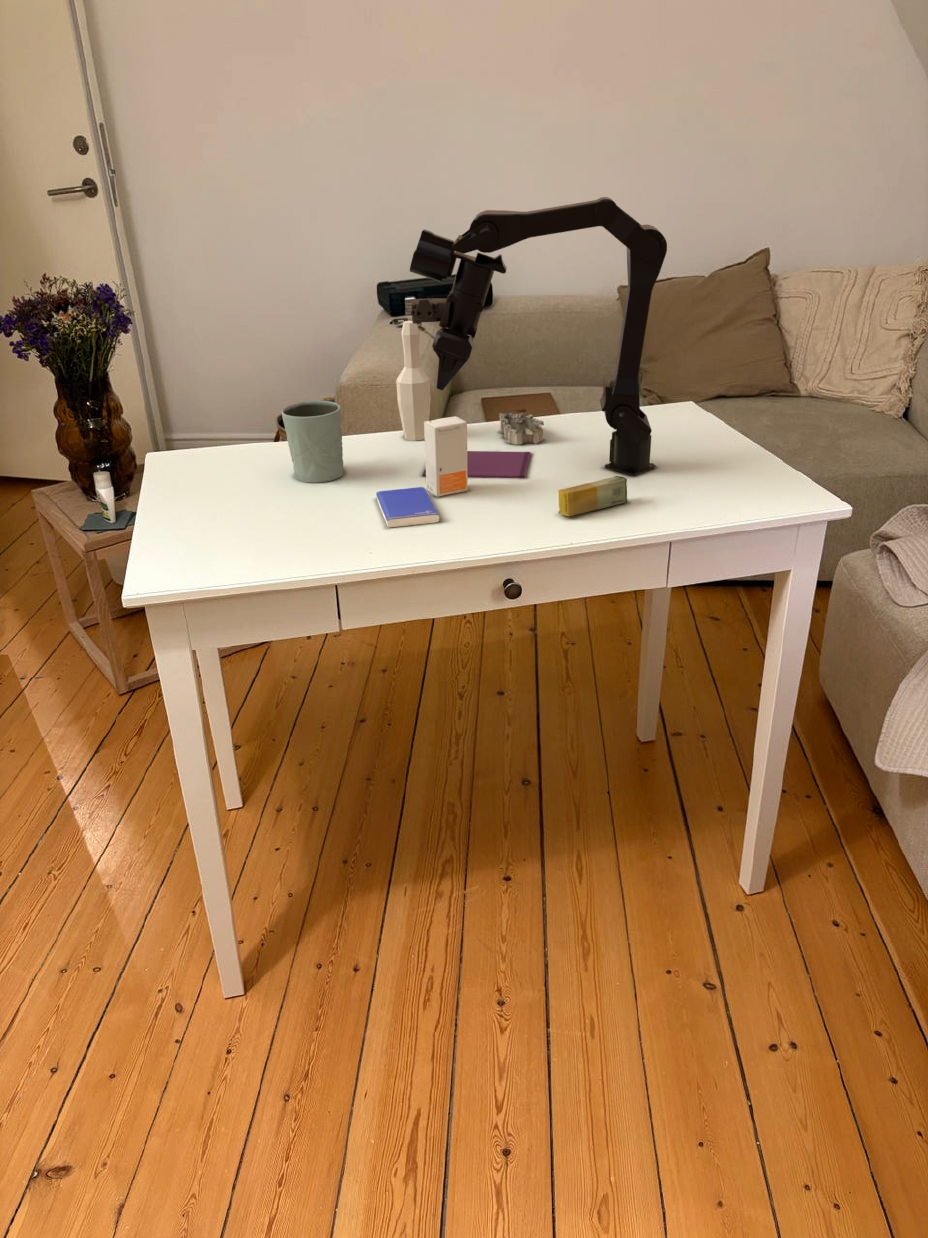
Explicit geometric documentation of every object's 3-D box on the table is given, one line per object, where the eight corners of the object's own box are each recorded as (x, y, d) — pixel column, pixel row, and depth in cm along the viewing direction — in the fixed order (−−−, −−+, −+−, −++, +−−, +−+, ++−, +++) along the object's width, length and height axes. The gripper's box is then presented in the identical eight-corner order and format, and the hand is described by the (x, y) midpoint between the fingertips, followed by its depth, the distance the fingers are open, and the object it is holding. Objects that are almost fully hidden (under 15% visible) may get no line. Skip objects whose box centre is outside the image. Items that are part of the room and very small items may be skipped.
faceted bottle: (431, 441, 188) (426, 324, 177) (398, 442, 188) (391, 325, 177) (432, 431, 193) (427, 317, 183) (401, 432, 193) (394, 318, 183)
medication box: (617, 499, 158) (617, 475, 156) (628, 502, 156) (628, 478, 154) (557, 513, 152) (557, 488, 151) (568, 517, 150) (567, 492, 149)
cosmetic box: (437, 498, 161) (434, 427, 155) (426, 490, 164) (422, 421, 158) (469, 491, 163) (467, 421, 157) (458, 483, 166) (455, 415, 161)
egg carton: (545, 443, 184) (545, 422, 182) (506, 446, 184) (506, 425, 182) (535, 427, 194) (535, 406, 192) (497, 429, 193) (497, 409, 191)
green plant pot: (352, 479, 170) (346, 412, 164) (295, 487, 167) (287, 419, 161) (339, 462, 178) (332, 397, 173) (284, 469, 175) (276, 404, 170)
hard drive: (438, 512, 151) (424, 486, 161) (386, 518, 149) (375, 491, 160) (439, 522, 151) (425, 494, 162) (387, 527, 150) (376, 500, 161)
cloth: (530, 453, 179) (530, 451, 179) (524, 478, 168) (524, 475, 168) (434, 452, 182) (434, 450, 181) (422, 476, 170) (422, 473, 170)
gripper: (427, 266, 166) (403, 354, 173) (415, 285, 150) (389, 381, 157) (489, 287, 167) (462, 374, 174) (484, 308, 151) (455, 402, 158)
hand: (442, 382), depth 166 cm, fingers open, 9 cm apart
